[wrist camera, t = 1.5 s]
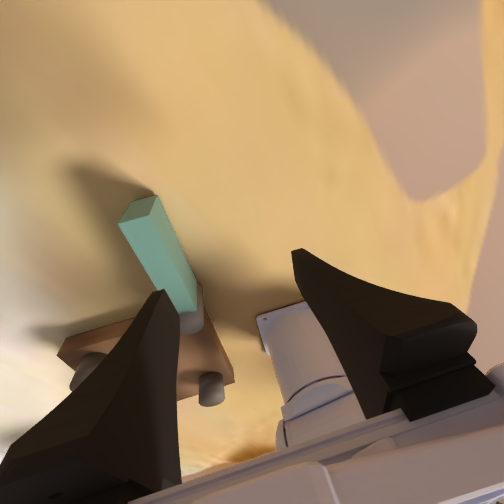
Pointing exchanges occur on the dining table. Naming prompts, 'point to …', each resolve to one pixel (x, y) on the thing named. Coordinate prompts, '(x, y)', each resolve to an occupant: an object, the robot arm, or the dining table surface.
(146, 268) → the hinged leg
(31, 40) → the dining table surface
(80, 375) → the stool seat
